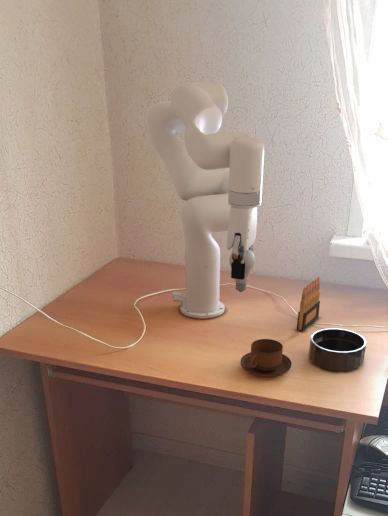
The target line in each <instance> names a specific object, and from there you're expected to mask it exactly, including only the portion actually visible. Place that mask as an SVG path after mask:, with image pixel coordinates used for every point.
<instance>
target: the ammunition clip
mask: <svg viewBox="0 0 388 516" xmlns="http://www.w3.org/2000/svg"><path fill="white" fill-rule="evenodd" d="M320 287H321V279H320V276H317V277H316V278H315V279H314V280H312V281H311V282H309V283H308V284H307V285H306V286H304V288H303V290H302V294H301V299H300V302H299V303H300V304H299V311H298V313H297V323H296V330H297V331H300V332H304V331H306V329H308V328H309V327H310V326H311V325H312V324H313V323H315V322H316V321H317V320H319V315H320V307H321V306H320V305H321V301H320V296H321V295H320V294H321V289H320Z"/></svg>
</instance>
